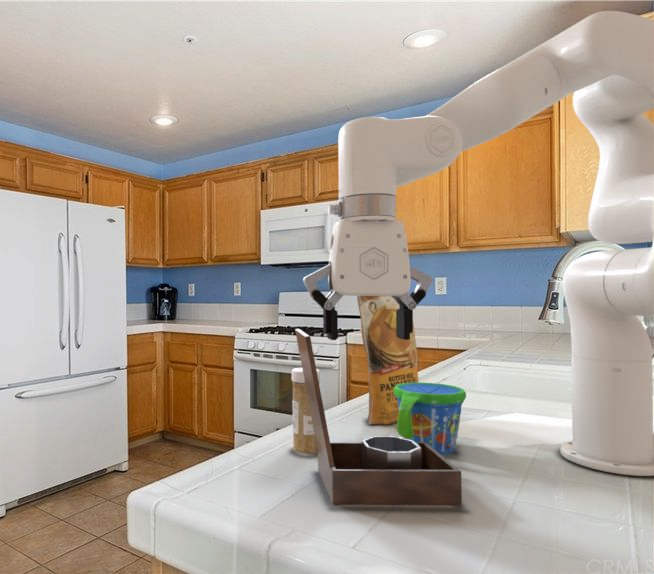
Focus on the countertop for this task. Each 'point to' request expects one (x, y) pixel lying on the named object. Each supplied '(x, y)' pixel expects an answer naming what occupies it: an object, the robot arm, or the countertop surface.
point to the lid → (314, 395)
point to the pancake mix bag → (385, 356)
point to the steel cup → (390, 453)
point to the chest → (389, 479)
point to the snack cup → (430, 414)
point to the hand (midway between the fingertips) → (367, 338)
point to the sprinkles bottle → (302, 415)
